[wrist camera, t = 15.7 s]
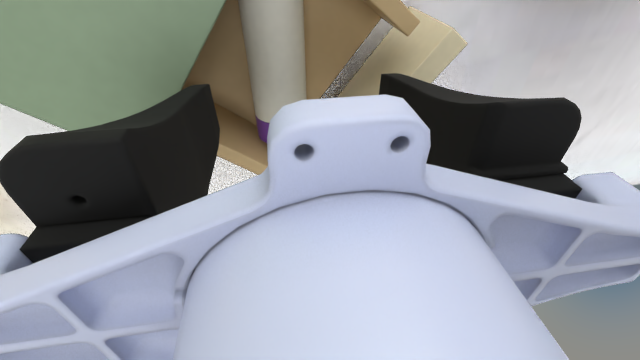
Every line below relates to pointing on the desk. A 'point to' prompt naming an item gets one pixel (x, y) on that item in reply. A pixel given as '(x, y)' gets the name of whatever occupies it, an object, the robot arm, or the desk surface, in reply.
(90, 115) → the box
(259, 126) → the glue stick
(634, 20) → the desk surface
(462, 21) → the desk surface
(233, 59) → the drawer
